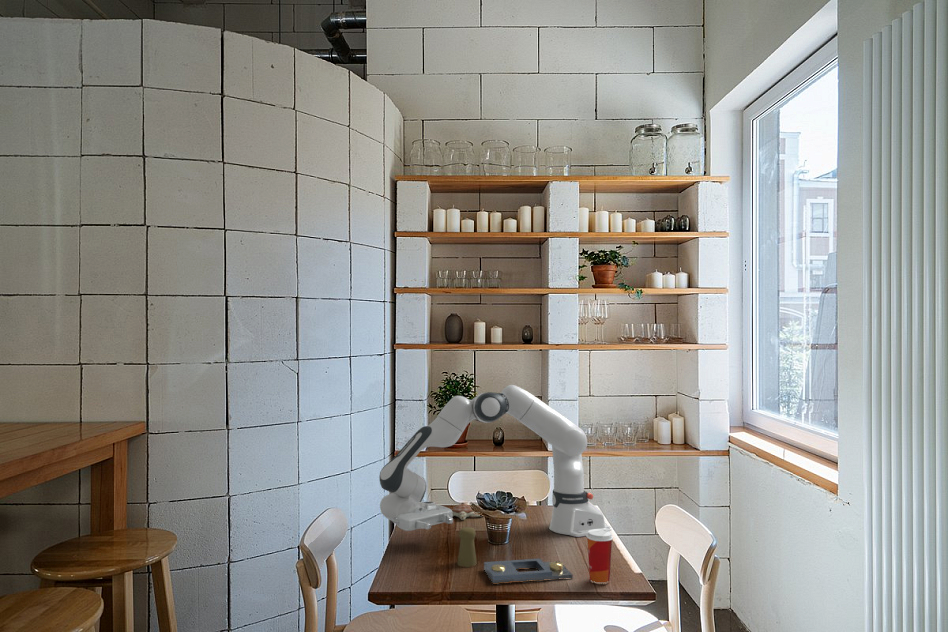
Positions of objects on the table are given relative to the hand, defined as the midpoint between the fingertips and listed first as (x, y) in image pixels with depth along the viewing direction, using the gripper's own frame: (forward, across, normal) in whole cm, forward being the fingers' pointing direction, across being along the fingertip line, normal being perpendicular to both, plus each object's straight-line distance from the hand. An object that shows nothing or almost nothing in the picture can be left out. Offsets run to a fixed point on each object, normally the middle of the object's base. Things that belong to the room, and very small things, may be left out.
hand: (440, 523), depth 203 cm
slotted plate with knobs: (+31, +8, +9) cm, 33 cm away
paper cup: (+49, +19, +9) cm, 53 cm away
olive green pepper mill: (+12, 0, +10) cm, 16 cm away
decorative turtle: (-28, +36, +10) cm, 47 cm away
